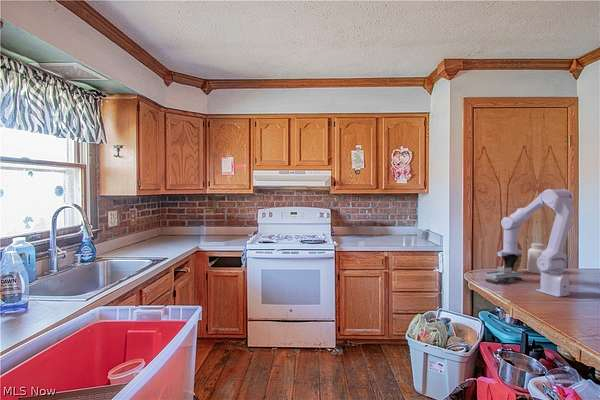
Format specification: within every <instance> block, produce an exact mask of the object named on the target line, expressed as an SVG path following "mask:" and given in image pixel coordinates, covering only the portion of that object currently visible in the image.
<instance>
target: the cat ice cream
mask: <svg viewBox="0 0 600 400" xmlns="http://www.w3.org/2000/svg"><path fill="white" fill-rule="evenodd" d="M521 246H522V245H521V244H520V243H519V241H518V239H517V250H522V251H523V249H522V247H521ZM516 256H518V259H517V260H516V262H515V264H514V267H513V271H514V272H518V270H519V268H520V266H521V262H522V257H523V253H522V254H517V255H516Z"/></svg>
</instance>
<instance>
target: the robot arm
mask: <svg viewBox="0 0 600 400" xmlns="http://www.w3.org/2000/svg"><path fill="white" fill-rule="evenodd" d="M574 199H575V196H574V195H573V194H572V193H571V191H570V190H569V189H566V188H565V189H564V188H561V189H551V188H548V189H545V190H544V191H542V192H541V193H539V195H538V196H537V197H536V198H535V199H534V200H533V201H531V202H530V203H529V204H528V205H527V206H525V207H517V208H516V210H515V212H513V213H512V214H509V216H504V217H503V218H502V219H501V221H500V224H501V227H502V229H503V245H502V248H503V249H501V250H500V251H497V255H496V256H497V257H501V258H502V259H503V261H504V264H505V266H507V267H511V271H512V270H513V267H514V264H515V262H516V260H517V259H518V256H516V255H517V254H522V255H523V249H522V250H517V240H518V233H519V229H520V228H521V226H522V224H523V223H525V222H526V221H528V220H529V219H530V218H532V214H533V213H534V212H537V211H538V210H539V209H541V208H543V207H544V206H548V207H549V208H551V209H552V210H553V211H554V212H555V218H554V221H553V225H552V229H551V232H550V236H549V239H548V243H547V247H546V248H545V249H543V250H544V251H543V252H542V253H541V256H540V257H539V258H538V259H537V266H538V268H539V269H540V271H541V274H540V284H539V285H540V286H539V288H537V289H535V292H538V293H542V294H546V295H549V296H553V297H557V298H560V297H565V296H570V295H571V293H570V278H569V275H567V274H563V273H564V272H563V271H564V270H565V269H566V268H567V254H565V252H564V248H565V247H566V242H567V238H568V235H569V232H570V228H571V224H572V221H573V218H574V214H575V207H574V203H573V202H574Z"/></svg>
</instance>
